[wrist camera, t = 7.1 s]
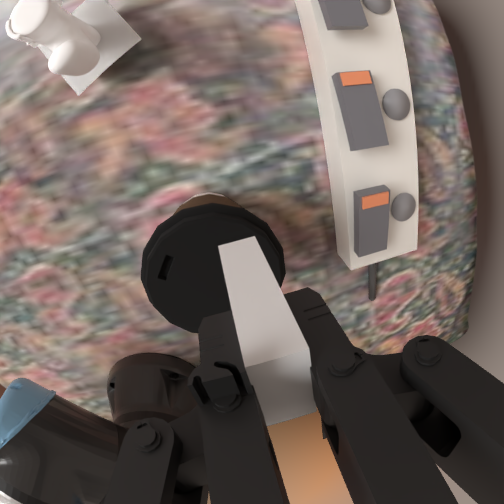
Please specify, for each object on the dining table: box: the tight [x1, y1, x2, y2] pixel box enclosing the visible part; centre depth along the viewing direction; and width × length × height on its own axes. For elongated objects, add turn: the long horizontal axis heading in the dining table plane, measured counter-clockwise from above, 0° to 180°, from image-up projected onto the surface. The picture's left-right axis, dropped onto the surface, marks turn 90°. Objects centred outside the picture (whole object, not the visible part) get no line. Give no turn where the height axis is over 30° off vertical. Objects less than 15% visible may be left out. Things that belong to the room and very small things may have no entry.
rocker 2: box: [353, 185, 390, 257], centre depth 30 cm, size 7×3×1 cm, turn 11°
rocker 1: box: [331, 70, 389, 151], centre depth 24 cm, size 7×3×1 cm, turn 13°
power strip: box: [295, 0, 418, 301], centre depth 30 cm, size 42×9×4 cm, turn 12°
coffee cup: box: [141, 192, 286, 333], centre depth 28 cm, size 11×11×12 cm
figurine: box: [6, 0, 141, 96], centre depth 16 cm, size 7×9×15 cm
